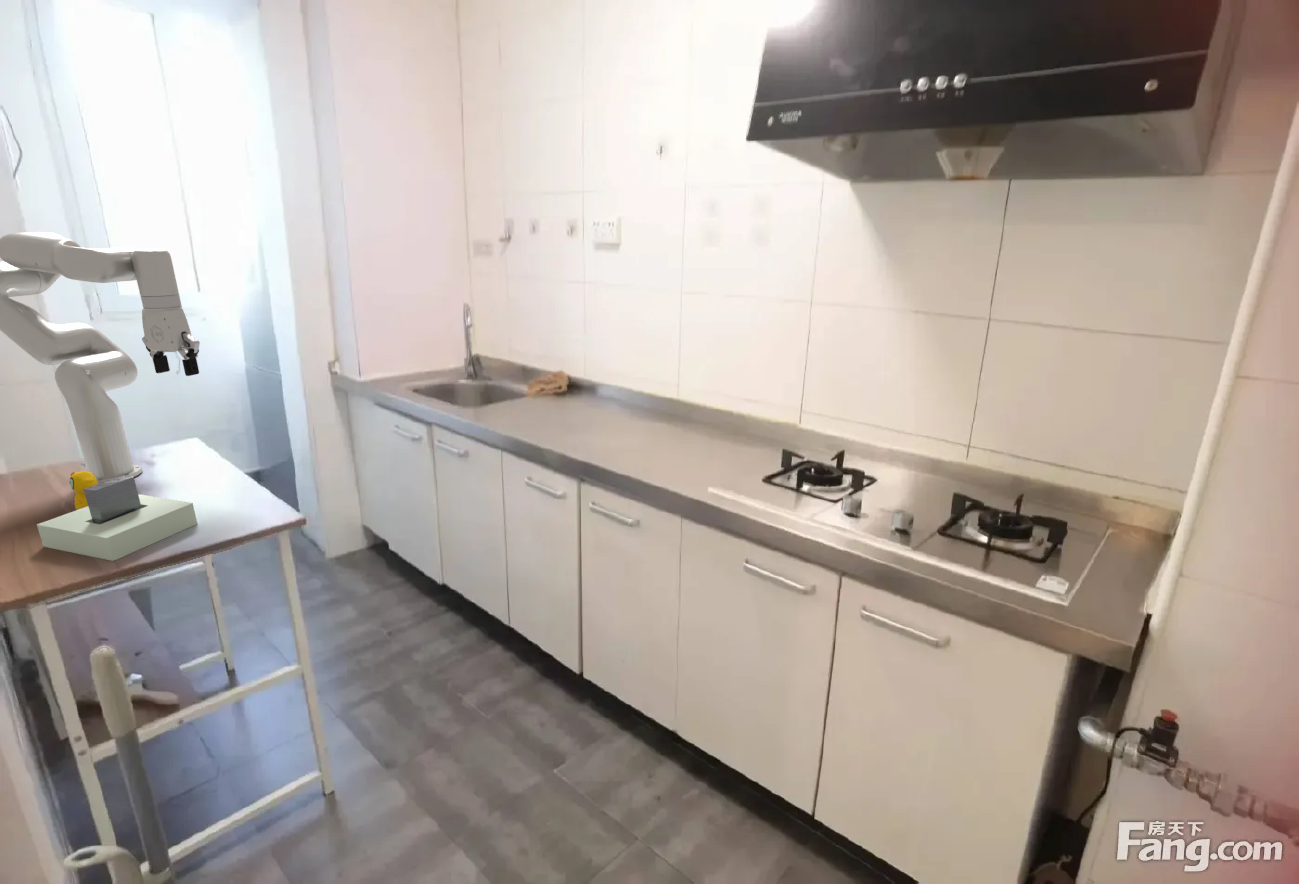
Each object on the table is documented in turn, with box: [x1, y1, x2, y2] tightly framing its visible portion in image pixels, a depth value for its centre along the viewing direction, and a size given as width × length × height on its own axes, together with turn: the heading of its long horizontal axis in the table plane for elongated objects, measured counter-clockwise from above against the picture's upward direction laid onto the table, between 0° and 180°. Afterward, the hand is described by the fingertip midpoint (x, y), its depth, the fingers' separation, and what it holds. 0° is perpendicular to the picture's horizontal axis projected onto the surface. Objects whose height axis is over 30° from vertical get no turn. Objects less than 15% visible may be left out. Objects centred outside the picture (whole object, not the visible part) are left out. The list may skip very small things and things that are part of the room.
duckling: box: [69, 470, 98, 511], centre depth 150 cm, size 11×5×10 cm, turn 59°
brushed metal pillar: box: [83, 476, 142, 524], centre depth 139 cm, size 3×8×12 cm, turn 163°
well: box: [36, 493, 198, 562], centre depth 140 cm, size 20×18×5 cm
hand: (177, 373), depth 162 cm, fingers open, 9 cm apart
